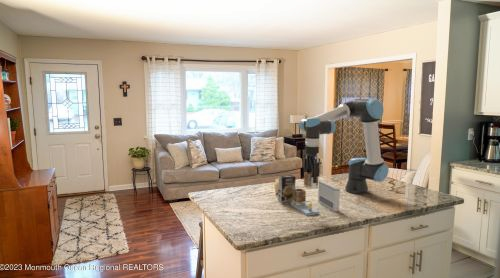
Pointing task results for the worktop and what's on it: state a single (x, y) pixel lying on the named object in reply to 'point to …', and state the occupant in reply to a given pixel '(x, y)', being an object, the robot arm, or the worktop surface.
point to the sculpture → (276, 185)
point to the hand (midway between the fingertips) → (310, 186)
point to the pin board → (305, 208)
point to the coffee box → (286, 188)
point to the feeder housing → (329, 195)
